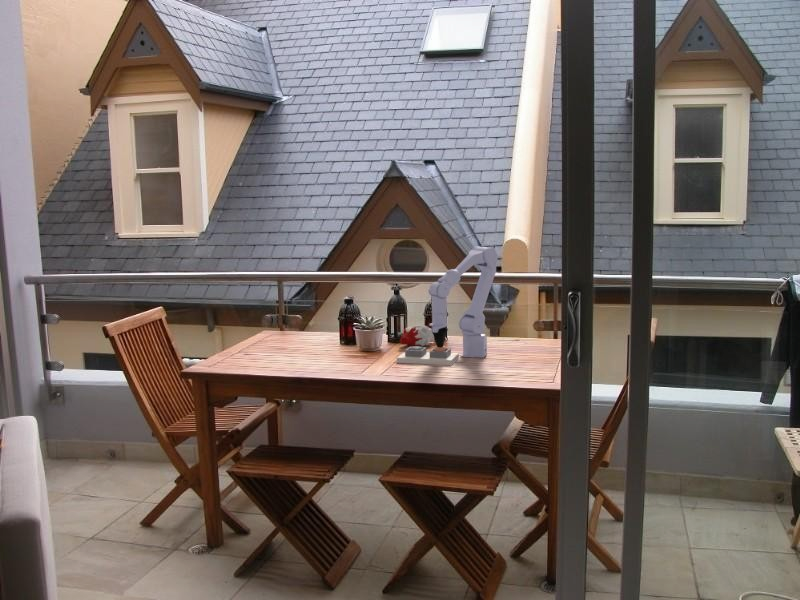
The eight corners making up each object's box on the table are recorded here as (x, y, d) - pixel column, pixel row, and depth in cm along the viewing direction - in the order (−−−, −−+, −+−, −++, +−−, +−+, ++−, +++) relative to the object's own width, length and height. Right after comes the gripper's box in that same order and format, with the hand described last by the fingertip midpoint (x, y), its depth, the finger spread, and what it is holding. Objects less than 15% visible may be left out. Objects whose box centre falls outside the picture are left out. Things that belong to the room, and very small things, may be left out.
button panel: (458, 358, 317) (458, 347, 317) (451, 365, 306) (451, 353, 305) (406, 355, 324) (405, 344, 323) (397, 362, 313) (396, 351, 312)
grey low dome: (423, 352, 318) (422, 346, 317) (419, 355, 313) (419, 349, 313) (412, 352, 319) (411, 346, 319) (408, 354, 315) (408, 348, 314)
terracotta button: (447, 352, 314) (447, 345, 314) (444, 354, 310) (444, 348, 310) (436, 351, 316) (436, 345, 315) (433, 354, 312) (432, 347, 311)
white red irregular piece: (435, 342, 344) (415, 353, 333) (414, 339, 351) (393, 350, 340) (433, 323, 342) (413, 333, 331) (412, 320, 349) (391, 330, 337)
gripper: (434, 309, 318) (435, 342, 321) (424, 315, 305) (425, 350, 307) (451, 309, 316) (452, 343, 318) (442, 316, 303) (442, 351, 305)
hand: (440, 347), depth 313 cm, fingers closed, pressing on terracotta button
